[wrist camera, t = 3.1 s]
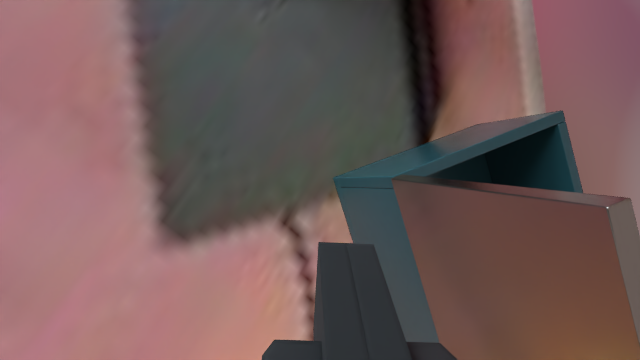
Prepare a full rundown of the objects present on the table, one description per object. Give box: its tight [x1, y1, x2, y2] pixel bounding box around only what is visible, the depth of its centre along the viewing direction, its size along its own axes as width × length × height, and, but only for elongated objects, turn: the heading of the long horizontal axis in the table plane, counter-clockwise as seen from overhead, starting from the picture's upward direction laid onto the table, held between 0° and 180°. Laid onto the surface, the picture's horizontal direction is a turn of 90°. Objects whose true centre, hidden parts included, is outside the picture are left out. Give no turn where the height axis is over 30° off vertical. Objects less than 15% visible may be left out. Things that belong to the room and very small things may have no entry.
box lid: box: [391, 174, 640, 360], centre depth 21 cm, size 16×14×1 cm
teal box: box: [333, 111, 583, 343], centre depth 35 cm, size 15×14×9 cm
